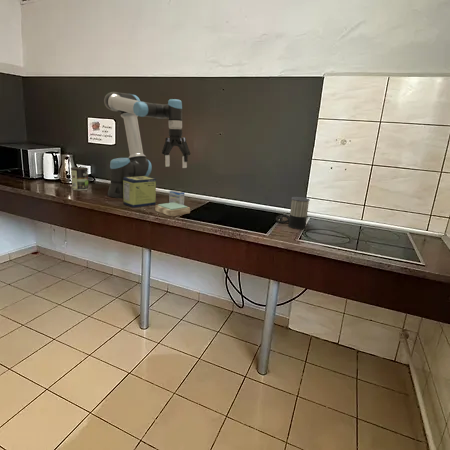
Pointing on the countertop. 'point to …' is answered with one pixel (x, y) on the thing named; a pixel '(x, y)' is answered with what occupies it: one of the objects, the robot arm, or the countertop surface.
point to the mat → (172, 206)
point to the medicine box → (176, 197)
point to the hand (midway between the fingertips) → (175, 167)
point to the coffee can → (79, 178)
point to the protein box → (139, 191)
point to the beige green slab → (172, 211)
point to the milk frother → (296, 213)
